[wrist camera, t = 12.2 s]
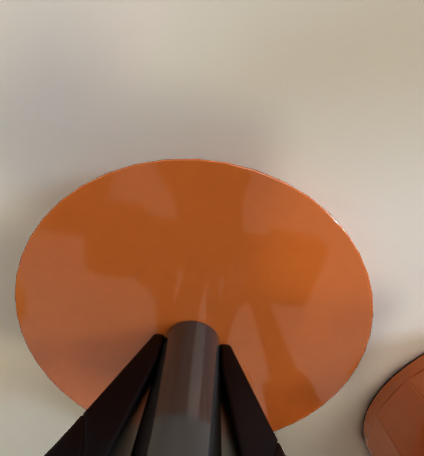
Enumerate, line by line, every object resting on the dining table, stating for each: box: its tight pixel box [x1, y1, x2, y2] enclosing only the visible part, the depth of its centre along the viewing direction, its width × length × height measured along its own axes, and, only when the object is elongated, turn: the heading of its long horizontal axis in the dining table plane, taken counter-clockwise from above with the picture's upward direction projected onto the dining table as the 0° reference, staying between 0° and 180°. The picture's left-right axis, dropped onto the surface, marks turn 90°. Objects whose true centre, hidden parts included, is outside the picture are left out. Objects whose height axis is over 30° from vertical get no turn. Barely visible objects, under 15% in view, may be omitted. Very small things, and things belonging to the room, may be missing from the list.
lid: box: [15, 159, 373, 456], centre depth 7 cm, size 15×15×6 cm
